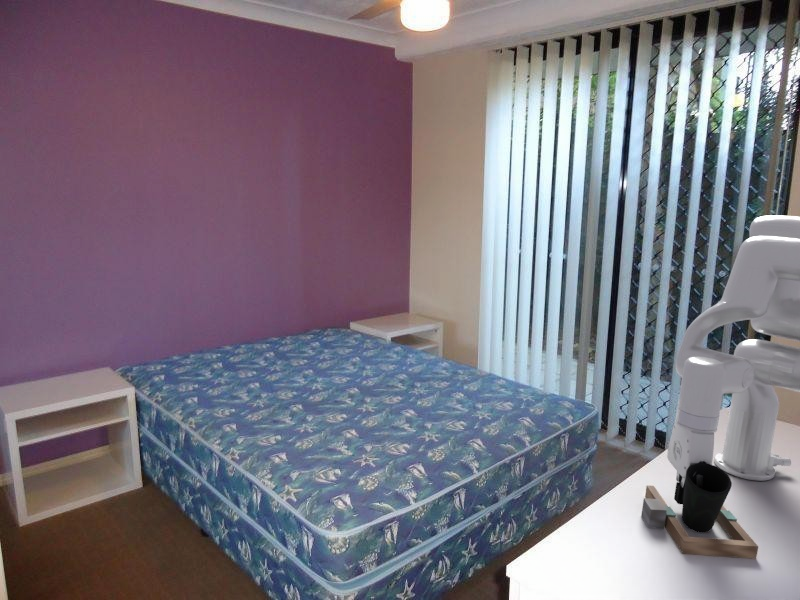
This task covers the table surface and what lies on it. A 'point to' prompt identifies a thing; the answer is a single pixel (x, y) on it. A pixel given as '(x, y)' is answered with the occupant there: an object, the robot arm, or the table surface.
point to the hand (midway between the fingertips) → (683, 502)
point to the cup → (704, 496)
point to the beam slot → (739, 546)
